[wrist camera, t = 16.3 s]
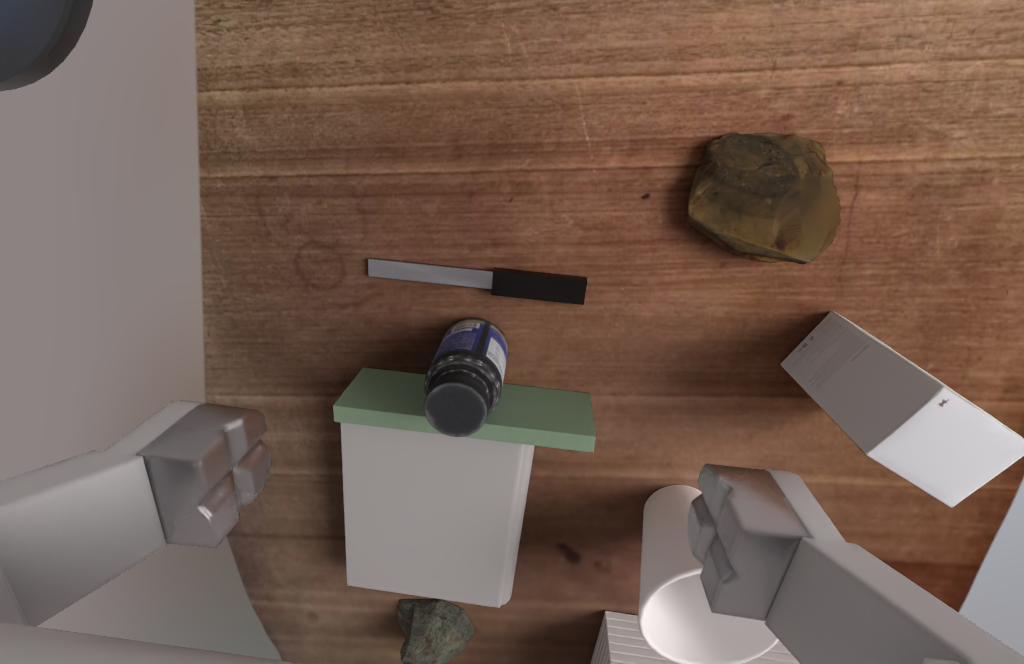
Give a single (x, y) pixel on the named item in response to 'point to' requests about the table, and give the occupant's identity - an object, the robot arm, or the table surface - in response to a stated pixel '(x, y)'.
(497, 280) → the table knife
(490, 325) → the pill bottle
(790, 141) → the decorative stone
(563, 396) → the green board
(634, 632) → the white ribbed block
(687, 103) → the table surface
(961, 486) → the small box
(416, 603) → the sword in stone
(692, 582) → the cup
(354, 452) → the white rectangular block
